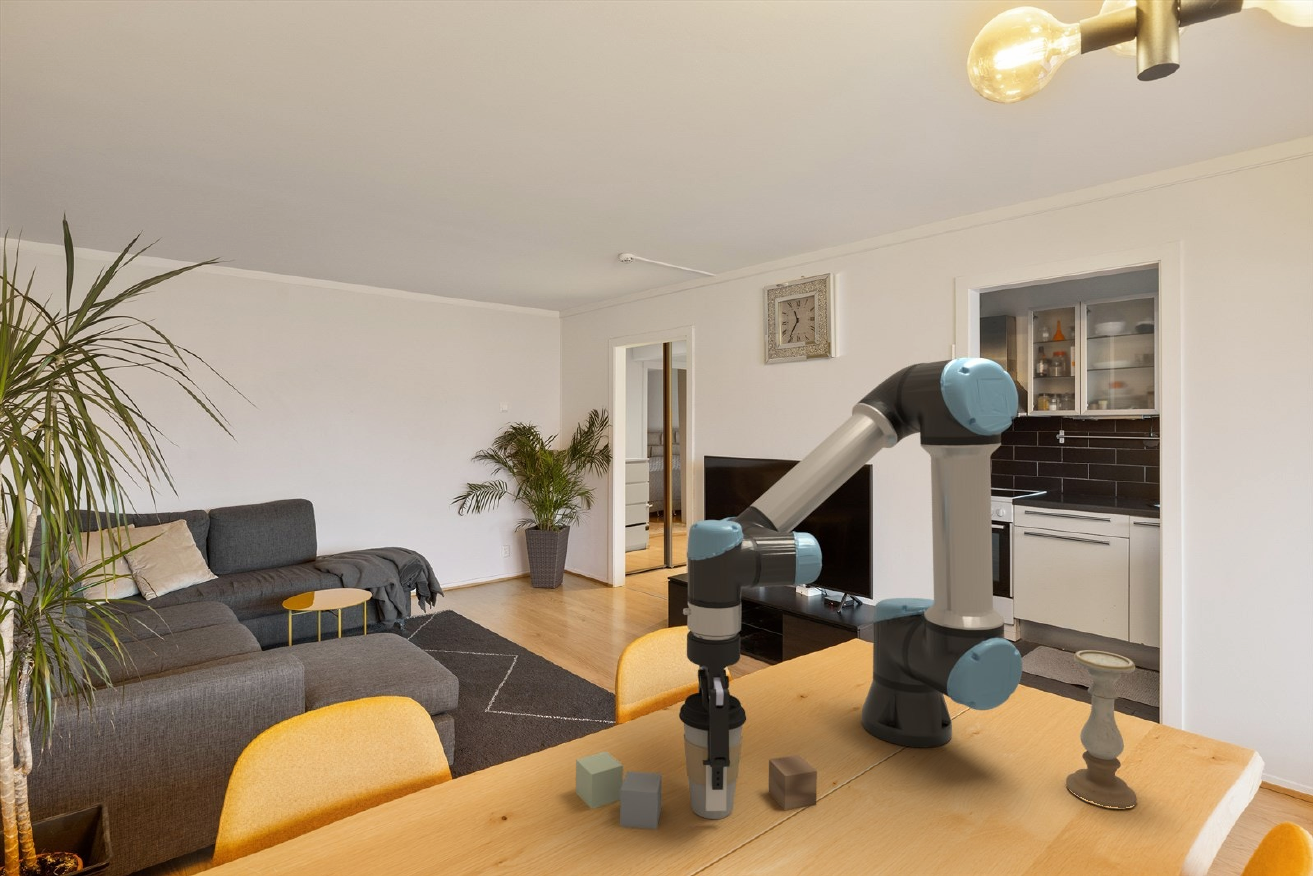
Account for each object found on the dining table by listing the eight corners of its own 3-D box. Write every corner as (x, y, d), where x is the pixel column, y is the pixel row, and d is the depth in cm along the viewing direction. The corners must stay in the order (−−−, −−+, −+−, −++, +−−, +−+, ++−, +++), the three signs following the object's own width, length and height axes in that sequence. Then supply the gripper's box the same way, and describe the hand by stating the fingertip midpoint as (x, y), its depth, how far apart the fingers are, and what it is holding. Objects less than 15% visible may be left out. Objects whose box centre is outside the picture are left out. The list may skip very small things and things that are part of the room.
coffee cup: (742, 831, 91) (743, 719, 91) (672, 822, 93) (673, 713, 93) (747, 793, 101) (748, 692, 100) (683, 786, 102) (685, 686, 102)
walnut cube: (798, 787, 103) (799, 754, 102) (816, 805, 98) (816, 771, 98) (768, 793, 101) (768, 759, 101) (785, 811, 96) (785, 776, 96)
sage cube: (605, 784, 103) (606, 751, 103) (622, 799, 99) (622, 765, 99) (575, 793, 100) (576, 759, 100) (591, 809, 96) (591, 774, 96)
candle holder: (1125, 784, 104) (1129, 652, 104) (1145, 816, 96) (1149, 672, 95) (1059, 774, 107) (1063, 645, 106) (1073, 804, 99) (1077, 664, 98)
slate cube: (661, 809, 97) (661, 774, 96) (656, 830, 92) (657, 793, 91) (626, 806, 97) (626, 771, 97) (620, 826, 92) (620, 790, 92)
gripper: (680, 611, 107) (679, 755, 107) (694, 657, 86) (692, 837, 86) (728, 611, 107) (726, 755, 107) (754, 657, 86) (751, 836, 86)
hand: (711, 791), depth 97 cm, fingers closed on coffee cup, 8 cm apart
